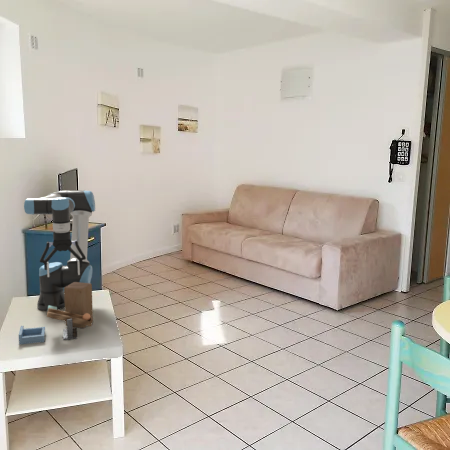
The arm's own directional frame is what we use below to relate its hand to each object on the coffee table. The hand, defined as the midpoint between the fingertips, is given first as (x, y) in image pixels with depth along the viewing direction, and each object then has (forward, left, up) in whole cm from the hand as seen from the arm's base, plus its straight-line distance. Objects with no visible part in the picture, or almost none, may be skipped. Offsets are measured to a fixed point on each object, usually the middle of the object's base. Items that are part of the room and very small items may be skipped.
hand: (63, 275), depth 224 cm
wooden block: (-3, +6, -26) cm, 27 cm away
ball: (+9, +9, -18) cm, 23 cm away
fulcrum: (+9, +2, -26) cm, 28 cm away
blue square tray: (+9, -14, -26) cm, 31 cm away
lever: (+6, +2, -19) cm, 20 cm away
